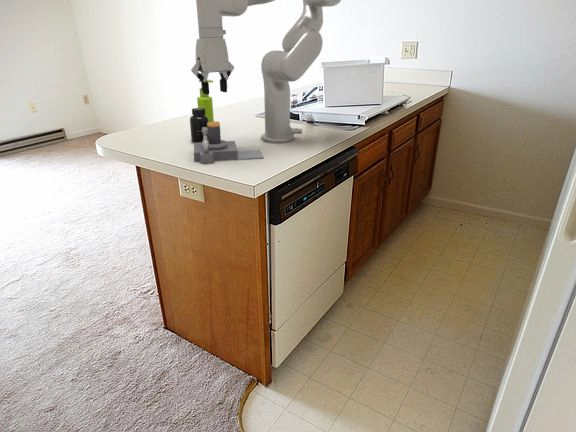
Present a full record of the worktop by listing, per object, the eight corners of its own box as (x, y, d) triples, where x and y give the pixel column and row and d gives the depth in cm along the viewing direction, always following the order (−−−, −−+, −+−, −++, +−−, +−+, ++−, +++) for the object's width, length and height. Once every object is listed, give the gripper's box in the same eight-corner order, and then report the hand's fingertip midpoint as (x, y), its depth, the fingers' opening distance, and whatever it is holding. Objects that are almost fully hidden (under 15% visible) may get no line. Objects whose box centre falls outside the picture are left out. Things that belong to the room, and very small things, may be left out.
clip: (208, 142, 143) (207, 127, 141) (209, 152, 132) (207, 136, 130) (203, 142, 143) (202, 127, 141) (203, 153, 132) (202, 137, 129)
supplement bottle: (201, 144, 152) (198, 111, 147) (187, 141, 156) (184, 109, 151) (213, 140, 158) (211, 108, 153) (200, 137, 161) (197, 106, 156)
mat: (260, 150, 146) (260, 149, 145) (263, 158, 138) (263, 157, 137) (234, 152, 144) (234, 150, 144) (236, 160, 136) (236, 158, 136)
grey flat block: (235, 149, 147) (234, 140, 146) (238, 161, 134) (238, 152, 133) (195, 151, 145) (194, 142, 144) (194, 164, 132) (193, 155, 131)
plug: (227, 151, 145) (225, 119, 140) (228, 158, 138) (226, 125, 133) (203, 152, 144) (201, 120, 139) (203, 159, 137) (201, 126, 132)
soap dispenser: (213, 132, 168) (209, 81, 160) (197, 131, 169) (193, 80, 161) (218, 129, 173) (215, 79, 165) (203, 128, 175) (199, 78, 166)
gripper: (227, 33, 138) (230, 89, 146) (180, 34, 128) (186, 94, 136) (240, 33, 133) (242, 91, 141) (192, 35, 123) (197, 97, 131)
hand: (215, 92), depth 138 cm, fingers open, 6 cm apart
